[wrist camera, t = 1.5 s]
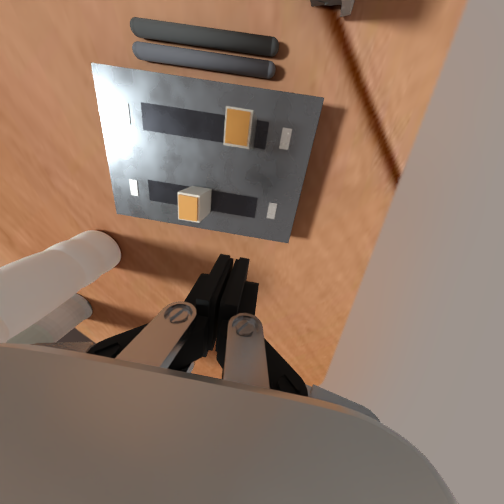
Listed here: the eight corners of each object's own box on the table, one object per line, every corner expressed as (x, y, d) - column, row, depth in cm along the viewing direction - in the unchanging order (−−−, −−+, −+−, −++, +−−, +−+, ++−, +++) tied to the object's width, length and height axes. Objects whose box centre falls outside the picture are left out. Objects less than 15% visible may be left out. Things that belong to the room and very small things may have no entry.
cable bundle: (134, 21, 21) (125, 12, 20) (280, 41, 21) (280, 34, 19) (138, 61, 22) (130, 55, 21) (274, 81, 22) (274, 77, 21)
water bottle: (108, 224, 32) (-267, 387, 10) (130, 262, 35) (-122, 454, 13) (74, 233, 34) (-319, 394, 11) (98, 269, 36) (-178, 452, 14)
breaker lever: (192, 185, 25) (176, 192, 21) (211, 188, 25) (198, 196, 21) (192, 209, 26) (177, 220, 22) (210, 212, 26) (198, 223, 22)
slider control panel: (112, 73, 23) (42, 39, 16) (318, 104, 23) (337, 82, 16) (130, 208, 30) (88, 224, 24) (287, 235, 30) (290, 260, 23)
